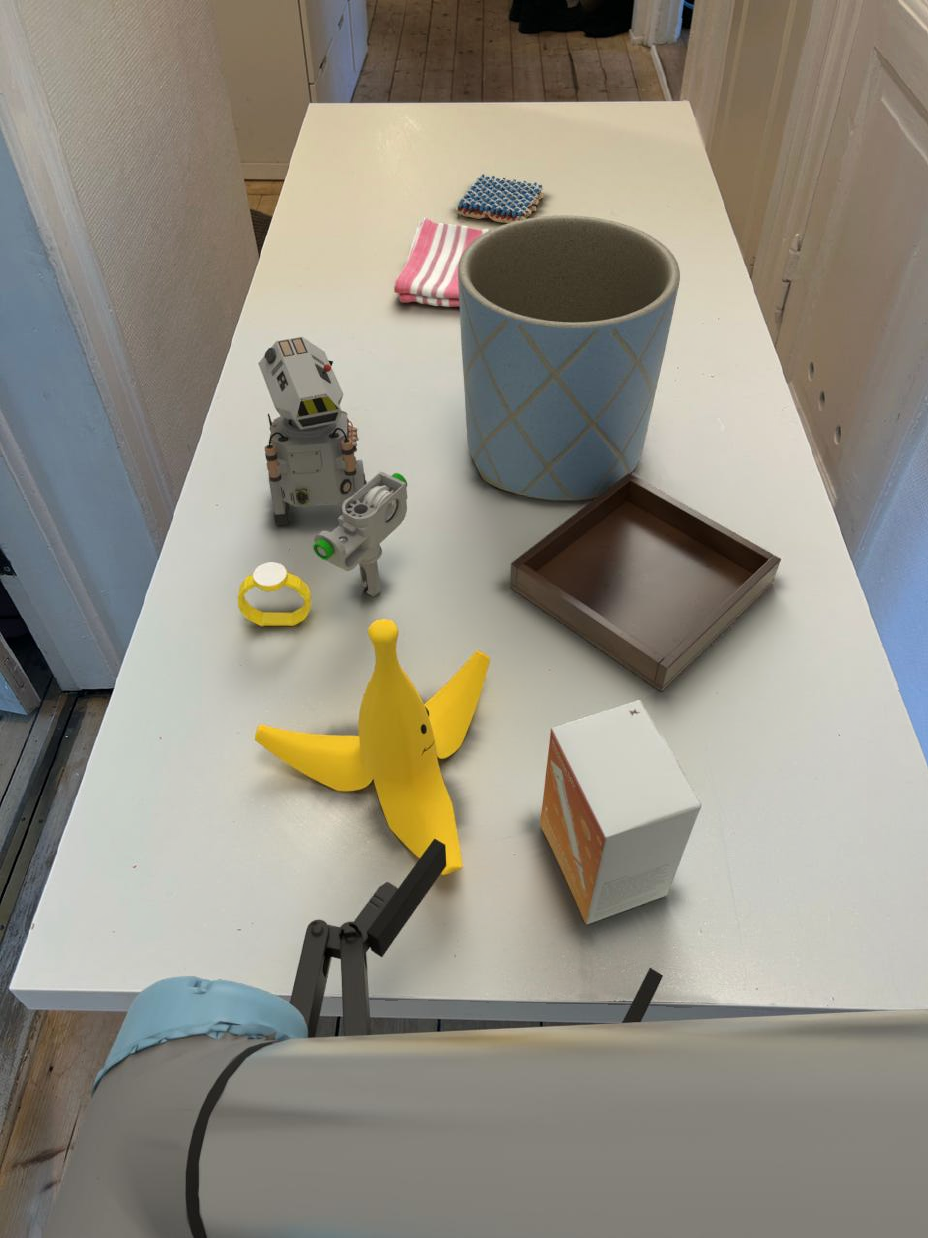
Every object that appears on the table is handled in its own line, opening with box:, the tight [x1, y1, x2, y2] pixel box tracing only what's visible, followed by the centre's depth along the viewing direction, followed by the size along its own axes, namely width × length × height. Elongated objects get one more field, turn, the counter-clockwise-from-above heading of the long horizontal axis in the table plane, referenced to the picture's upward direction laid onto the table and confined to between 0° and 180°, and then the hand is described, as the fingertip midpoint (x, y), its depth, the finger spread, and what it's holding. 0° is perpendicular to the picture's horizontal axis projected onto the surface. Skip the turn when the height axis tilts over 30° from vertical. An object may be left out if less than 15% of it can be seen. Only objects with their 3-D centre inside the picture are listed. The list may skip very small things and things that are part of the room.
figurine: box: [257, 336, 368, 526], centre depth 83 cm, size 9×12×15 cm
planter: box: [458, 214, 681, 501], centre depth 85 cm, size 19×19×20 cm
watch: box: [237, 561, 312, 627], centre depth 76 cm, size 6×3×6 cm, turn 93°
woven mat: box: [455, 173, 545, 224], centre depth 127 cm, size 10×11×2 cm
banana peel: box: [254, 618, 491, 876], centre depth 62 cm, size 16×19×17 cm
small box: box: [539, 699, 702, 925], centre depth 58 cm, size 8×6×13 cm
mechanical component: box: [312, 471, 408, 597], centre depth 76 cm, size 3×10×10 cm, turn 145°
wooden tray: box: [509, 473, 782, 692], centre depth 79 cm, size 17×17×3 cm
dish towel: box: [393, 217, 491, 308], centre depth 114 cm, size 17×23×4 cm
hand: (541, 912), depth 50 cm, fingers open, 13 cm apart
